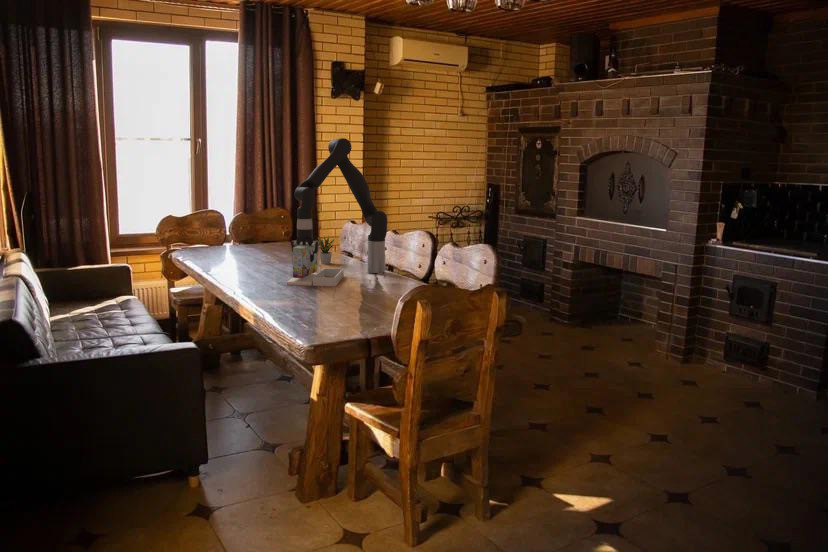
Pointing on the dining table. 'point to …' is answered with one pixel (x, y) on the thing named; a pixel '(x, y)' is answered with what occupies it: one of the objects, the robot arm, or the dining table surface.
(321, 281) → the bin
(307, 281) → the board
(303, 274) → the snack box
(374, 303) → the dining table surface
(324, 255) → the house plant
